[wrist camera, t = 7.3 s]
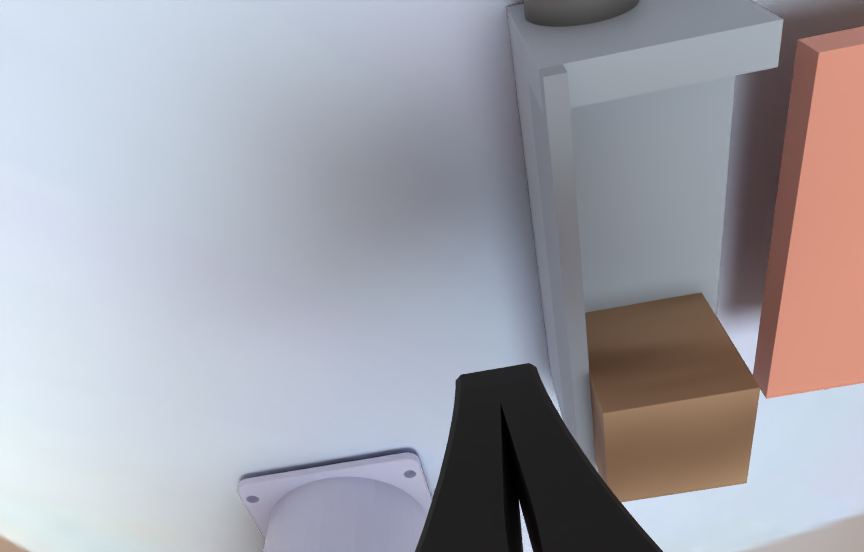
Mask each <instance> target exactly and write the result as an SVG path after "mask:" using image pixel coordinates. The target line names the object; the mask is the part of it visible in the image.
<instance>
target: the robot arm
mask: <svg viewBox="0 0 864 552" xmlns="http://www.w3.org/2000/svg"><path fill="white" fill-rule="evenodd" d="M237 493H238V495H239V496H240V498H241V500H242V501H243V503H244V505H245V506H246V508H247V510H248V511H249V513H250V515H251V516H252V518H253V520H254V521H255V523H256V525H257V526H258V528H259V530H260V531H261V533H262V535H263V536H264V538H265V545H264V550H263V552H523V545H522V533H521V520H520V508H519V501H520V505H521V509H522V512H523V516H524V520H525V523H526V527H527V531H528V534H529V538H530V542H531V545H532V549H533V552H663V551H662V550H661V549H660V548H659V547H658V545H657V544H656V543H655V542H654V541H653V540H652V539H651V538H650V536H649V535H648V534H647V533H646V532H645V531H644V530H643V528H642V527H641V526H640V525H639V524H638V523H637V521H636V520H635V519H634V518H633V517H632V515H631V514H630V513H629V512H628V511H627V509H626V508H625V507H624V506H623V504H622V503H621V502H620V501H619V499H618V498H617V497H616V496H615V494H614V493H613V492H612V490H611V489H610V488H609V487H608V485H607V484H606V483H605V481H604V480H603V479H602V477H601V476H600V475H599V473H598V472H597V471H596V469H595V468H594V466H593V465H592V464H591V462H590V461H589V459H588V458H587V456H586V455H585V454H584V452H583V451H582V449H581V448H580V446H579V445H578V443H577V442H576V440H575V439H574V437H573V436H572V434H571V433H570V431H569V430H568V428H567V427H566V425H565V423H564V422H563V420H562V418H561V417H560V415H559V413H558V411H557V410H556V408H555V406H554V405H553V403H552V401H551V399H550V397H549V395H548V393H547V391H546V389H545V387H544V385H543V383H542V381H541V379H540V376H539V374H538V371H537V368H536V367H535V366H533V365H532V364H530V363H527V364H521V365H515V366H510V367H504V368H498V369H492V370H486V371H480V372H474V373H468V374H463V375H460V376H459V377H458V379H457V380H456V391H455V402H454V410H453V416H452V422H451V427H450V433H449V438H448V443H447V447H446V451H445V455H444V459H443V463H442V467H441V471H440V475H439V479H438V483H437V486H436V489H435V493H434V496H433V499H432V498H431V495H430V492H429V489H428V486H427V483H426V480H425V476H424V473H423V470H422V467H421V464H420V461H419V458H418V457H417V455H415V454H413V453H400V454H394V455H387V456H381V457H375V458H369V459H363V460H357V461H350V462H344V463H338V464H332V465H326V466H320V467H313V468H307V469H301V470H295V471H289V472H283V473H276V474H270V475H264V476H258V477H252V478H246V479H243V480H241V481H240V482H239V484H238V488H237Z"/></svg>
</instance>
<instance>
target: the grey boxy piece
mask: <svg viewBox="0 0 864 552" xmlns="http://www.w3.org/2000/svg"><path fill="white" fill-rule="evenodd" d="M506 8H507V16H508V25H509V33H510V41H511V49H512V58H513V66H514V74H515V83H516V91H517V99H518V108H519V116H520V124H521V132H522V141H523V149H524V157H525V166H526V174H527V182H528V191H529V199H530V207H531V215H532V224H533V232H534V240H535V249H536V257H537V265H538V274H539V282H540V290H541V298H542V307H543V315H544V323H545V332H546V340H547V348H548V356H549V365H550V373H551V377H552V380H553V384H554V388H555V392H556V395H557V399H558V403H559V407H560V410H561V414H562V418H563V422H564V423H565V425H566V427H567V428H568V430H569V431H570V433H571V434H572V436H573V437H574V439H575V440H576V442H577V443H578V445H579V446H580V448H581V449H582V451H583V452H584V454H585V455H586V456H587V458H588V459H589V461H590V462H591V464H592V465H593V466H594V468H595V469H596V471H597V472H598V468H597V465H596V459H595V445H594V431H593V417H592V403H591V389H590V375H589V361H588V348H587V334H586V320H585V313H586V312H592V311H598V310H603V309H609V308H615V307H621V306H626V305H632V304H638V303H643V302H649V301H655V300H661V299H666V298H672V297H678V296H683V295H689V294H695V293H701V292H702V294H703V295H704V297H705V299H706V300H707V302H708V303H709V305H710V307H711V308H712V310H713V312H714V313H715V315H716V312H717V300H718V287H719V275H720V262H721V250H722V237H723V225H724V212H725V200H726V188H727V175H728V163H729V150H730V138H731V125H732V113H733V100H734V88H735V76H736V75H741V74H746V73H751V72H756V71H761V70H766V69H771V68H776V67H778V62H779V53H780V45H781V37H782V28H783V20H784V19H782V18H781V17H779V16H777V15H776V14H774V13H772V12H770V11H769V10H767V9H765V8H764V7H762V6H760V5H758V4H757V3H755V2H753V1H752V0H523V3H522V4H517V5H512V6H508V7H506ZM598 473H599V472H598Z"/></svg>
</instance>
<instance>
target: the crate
mask: <svg viewBox="0 0 864 552" xmlns="http://www.w3.org/2000/svg"><path fill="white" fill-rule="evenodd" d="M585 320H586V334H587V348H588V361H589V375H590V389H591V403H592V417H593V431H594V445H595V459H596V465H597V468H598V472H599V475H600V476H601V477H602V479H603V480H604V481H605V483H606V484H607V485H608V487H609V488H610V489H611V490H612V492H613V493H614V494H615V496H616V497H617V498H618V499H619V501H620V502H626V501H633V500H639V499H646V498H652V497H659V496H665V495H672V494H678V493H685V492H692V491H698V490H705V489H711V488H718V487H724V486H731V485H737V484H744V483H747V476H748V469H749V462H750V455H751V448H752V441H753V434H754V427H755V420H756V413H757V406H758V399H759V392H760V387H759V385H758V383H757V382H756V380H755V378H754V377H753V375H752V374H751V372H750V370H749V369H748V367H747V365H746V364H745V362H744V360H743V359H742V357H741V356H740V354H739V352H738V351H737V349H736V347H735V346H734V344H733V343H732V341H731V339H730V338H729V336H728V334H727V333H726V331H725V330H724V328H723V326H722V325H721V323H720V321H719V320H718V318H717V316H716V315H715V313H714V312H713V310H712V308H711V307H710V305H709V303H708V302H707V300H706V299H705V297H704V295H703V294H702V292H701V293H695V294H689V295H683V296H678V297H672V298H666V299H661V300H655V301H649V302H643V303H638V304H632V305H626V306H621V307H615V308H609V309H603V310H598V311H592V312H586V313H585Z"/></svg>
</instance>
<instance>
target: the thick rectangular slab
mask: <svg viewBox="0 0 864 552" xmlns="http://www.w3.org/2000/svg"><path fill="white" fill-rule="evenodd" d="M753 377H754V378H755V380H756V382H757V383H758V385H759V387H760V389H761V391H762V393H763V394H764V396H765V397H766V398H772V397H778V396H785V395H791V394H797V393H803V392H810V391H816V390H822V389H828V388H835V387H841V386H847V385H853V384H859V383H864V26H862V27H857V28H852V29H847V30H842V31H837V32H832V33H827V34H822V35H817V36H812V37H807V38H802V39H797V47H796V54H795V62H794V69H793V77H792V84H791V92H790V99H789V107H788V115H787V122H786V130H785V137H784V145H783V152H782V160H781V167H780V175H779V183H778V190H777V198H776V205H775V213H774V220H773V228H772V235H771V243H770V251H769V258H768V266H767V273H766V281H765V288H764V296H763V303H762V311H761V318H760V326H759V334H758V341H757V349H756V356H755V364H754V371H753Z"/></svg>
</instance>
